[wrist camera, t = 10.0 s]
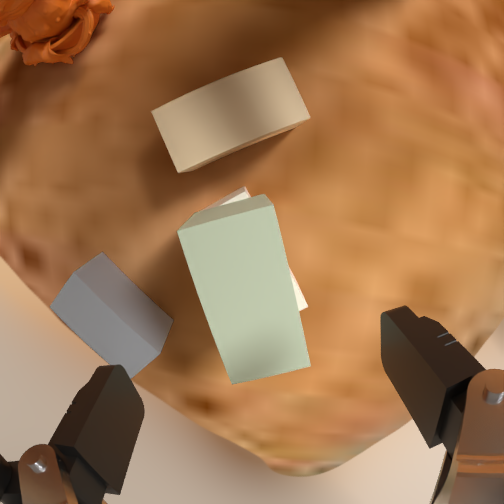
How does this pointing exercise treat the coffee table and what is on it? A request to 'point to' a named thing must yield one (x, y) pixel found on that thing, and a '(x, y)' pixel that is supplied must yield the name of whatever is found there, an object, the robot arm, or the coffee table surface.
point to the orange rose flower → (50, 27)
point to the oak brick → (230, 115)
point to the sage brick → (245, 288)
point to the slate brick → (113, 315)
